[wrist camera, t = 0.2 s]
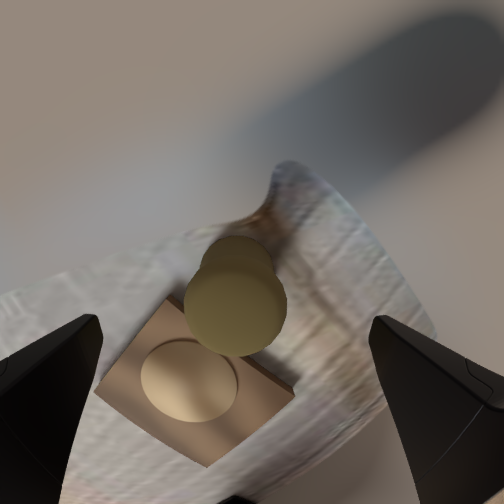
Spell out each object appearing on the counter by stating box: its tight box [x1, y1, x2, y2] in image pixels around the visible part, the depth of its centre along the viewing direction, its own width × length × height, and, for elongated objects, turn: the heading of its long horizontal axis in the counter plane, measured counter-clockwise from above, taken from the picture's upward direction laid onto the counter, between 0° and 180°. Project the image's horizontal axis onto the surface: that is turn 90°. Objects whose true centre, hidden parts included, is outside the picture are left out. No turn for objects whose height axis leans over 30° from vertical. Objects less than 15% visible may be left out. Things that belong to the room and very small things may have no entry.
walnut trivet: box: [94, 295, 295, 468], centre depth 24 cm, size 13×14×2 cm
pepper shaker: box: [184, 236, 287, 357], centre depth 19 cm, size 6×6×11 cm
